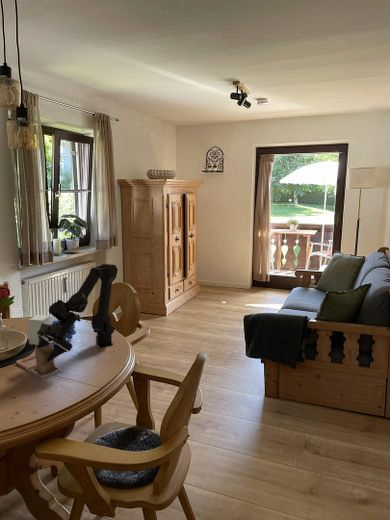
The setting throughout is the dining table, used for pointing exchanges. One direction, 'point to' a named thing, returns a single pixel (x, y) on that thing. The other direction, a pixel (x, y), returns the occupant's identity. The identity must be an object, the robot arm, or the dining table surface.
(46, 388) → the dining table surface
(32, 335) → the supplement box
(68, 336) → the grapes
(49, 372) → the grey metal socket
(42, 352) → the walnut plug block
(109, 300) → the robot arm
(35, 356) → the terracotta socket
